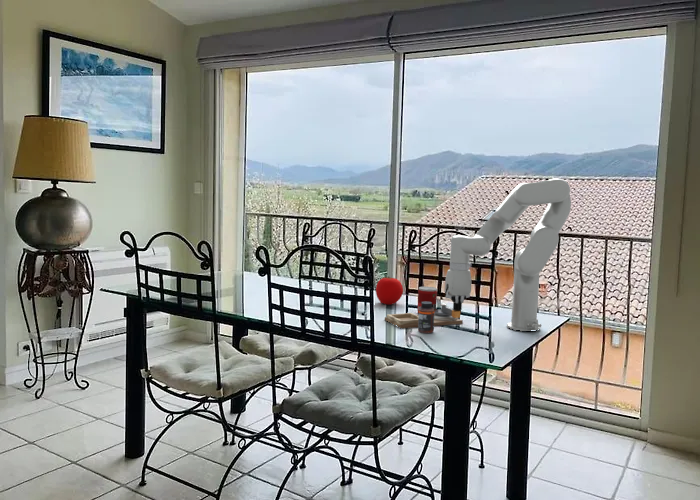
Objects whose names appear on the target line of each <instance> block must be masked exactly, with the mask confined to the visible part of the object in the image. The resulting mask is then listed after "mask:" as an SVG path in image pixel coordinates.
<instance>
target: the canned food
mask: <svg viewBox="0 0 700 500" xmlns="http://www.w3.org/2000/svg"><path fill="white" fill-rule="evenodd" d="M417 290H418V291H417V314H419V308H420V307H421V303H422V302H425V301H427V302H432V308H433V309H434V311H435V310H437V300H438V299H437V298H438V288H437V287H434V286H419V287H418V289H417Z"/></svg>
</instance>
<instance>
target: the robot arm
mask: <svg viewBox="0 0 700 500" xmlns="http://www.w3.org/2000/svg"><path fill="white" fill-rule="evenodd" d="M570 194H571V186H570V184H569V183H568V181H566V180H565V179H563V178H551V179H549V180H543V181H535V182H522V183H519V184H518V185H516V186H515V187H514V189H512V191H511V192H510V193H509V195H508V196H507V197H506V198H505V199H504V200H503V202H502V203H501V204H499V206H498V207H497V208H496V209H495V211H494V212H493V213H492V214H491V216H490V217H489V219H488V220H486V222H485V223H484V224H483V225H482V226H481V228H480V229H478V231H477V232H476V233H475V235H474V236H473V237H470V236H467V235H463V234H462V235H461V234H460V235H457V234H456V235H453V236H452V237H451V240H450V259H449V269H447V271H446V274H445V275H446V276H445V280H444V281H445V282H444V289H443V291H444V294H445V298H446V299H448V300H449V299H450V300H451V302H452V304H453V305H452V308H453V309H455V310H458V311H460V314H461V313H462V309H463V303H464V301H465V300H466V299H467V298H470V297H471V292H472V275H471V270H470V267H473V266H472V263H470V258H471V257H470V256H475V257H484V256H486V255H488V254H489V253H490V251H491V245H492V244H493V243H495V241H496V240H497V239H498V237H499V236H501V234H503V232H505V231H506V230H508V229H509V228H511V227H512V226H513V225H514V224H515V223H516V221H517V220H519V218H520V217H521V216H522V215H523V213H525V211H526V210H527V209H528V208H529V206H530V207H531V206H538V205H539V206H540V205H546V204H547V207H546V209H545V211H544V212H543V214H542V216H541V217H540V219H539V221H538V222H537V224H536V225H535V226H534V227H533V229H532V231H531V233H530V240H529V241H528V243H527V244H526V246H525V247H524V248H522V249H520V250H519V251H518V252H516V255H515V257H514V262H513V263H514V265H513V269H514V270H513V274H514V275H513V288H512V302H511V303H512V305H511V307H512V308H511V321H510V322H507V324H506V327H507V328H508V329H509V328H510V330H512V329H514V330H513V331H516V330H520V331H519V332H522V331H531V330H538V329H540V330H541V328H542V323H539V318H538V305H539V304H538V303H539V290H540V289H539V288H540V273H541V272H542V271H543V269H544V268H545V267H546V265H547V263H548V261H549V260H550V258H551V257H552V255H553V253H554V252H555V250H556V249H557V247H558V244H559V241H560V240H559V239H560V236H559V233H560V232H561V230H562V228H563V227H564V225H565V223H566V221H567V219H568V217H569V216H570V213H571V210H572V208H571V207H572V200H571V195H570Z"/></svg>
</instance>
